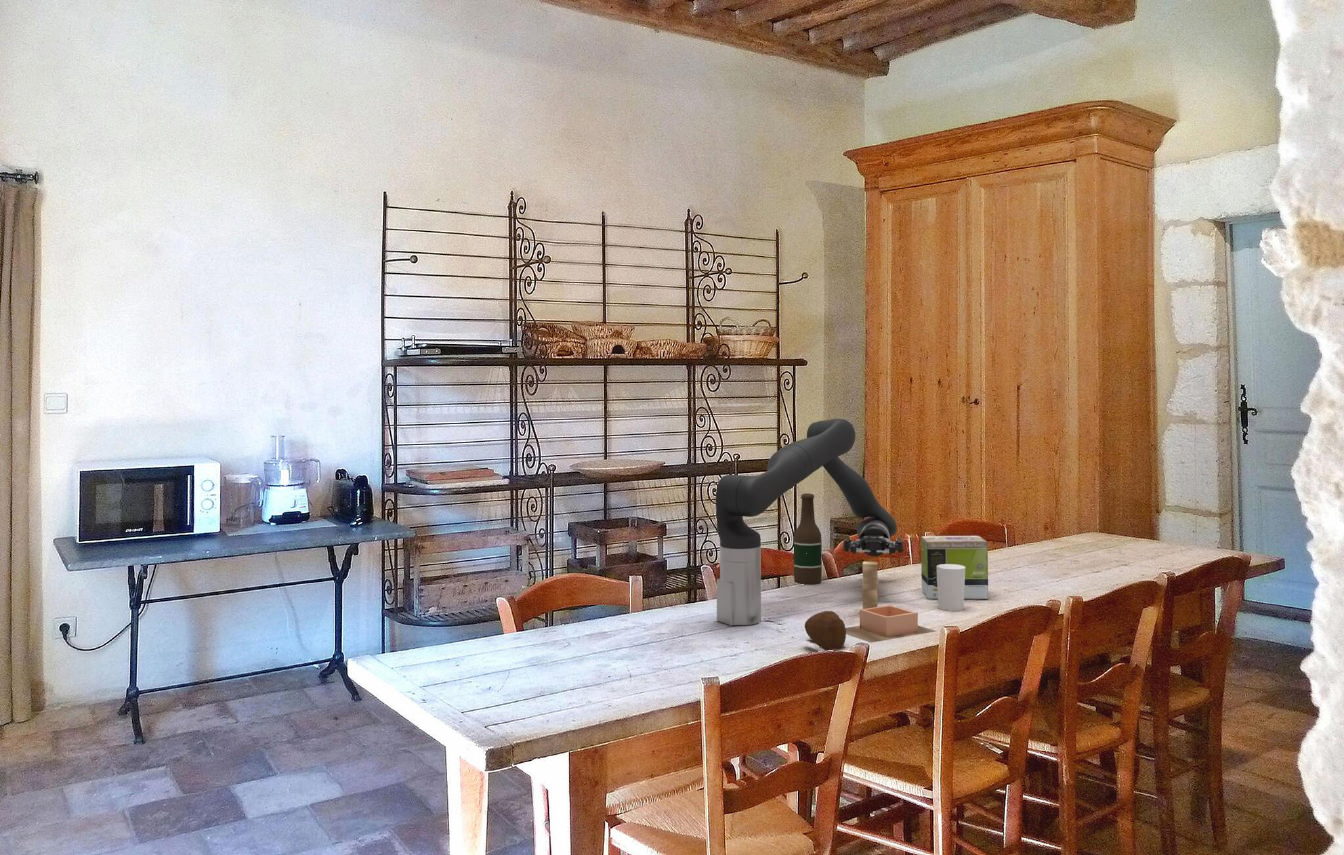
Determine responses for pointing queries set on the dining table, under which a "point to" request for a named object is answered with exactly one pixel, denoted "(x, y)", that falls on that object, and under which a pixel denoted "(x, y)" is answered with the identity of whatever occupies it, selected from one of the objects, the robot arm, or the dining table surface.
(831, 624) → the potato
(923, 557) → the tea box
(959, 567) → the white upright cylinder
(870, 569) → the tan cylinder
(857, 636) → the board
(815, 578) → the beer bottle
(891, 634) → the pink open tray
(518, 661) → the dining table surface
